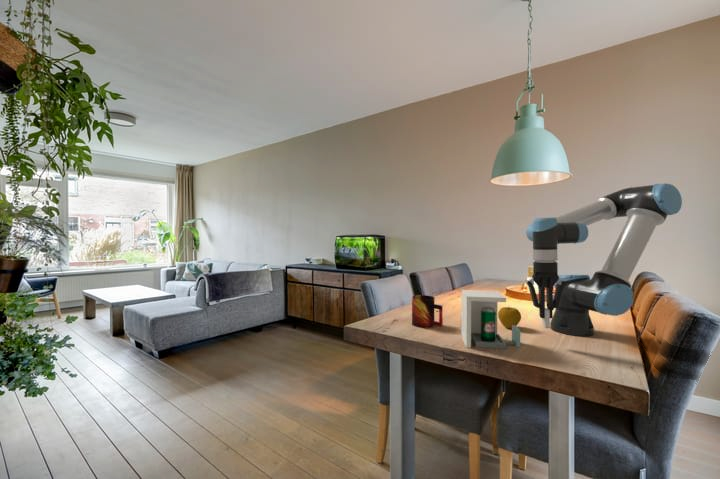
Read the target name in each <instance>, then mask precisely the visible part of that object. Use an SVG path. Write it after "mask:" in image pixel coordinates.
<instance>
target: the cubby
mask: <svg viewBox="0 0 720 479" xmlns="http://www.w3.org/2000/svg"><path fill="white" fill-rule="evenodd" d="M499 303H507V297H506V296H505V295H503V294H502V293H501V292H499V291H497V290H479V289H477V290H475V289H470V290H469V289H461V338H462V341H463V343H464V345H465V347H466V348H468V349H469V348H470V349H471V348H472V333H481V310H482V307H492V308H495V309H494V310H495V311H496V334H498V304H499Z"/></svg>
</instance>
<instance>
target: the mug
mask: <svg viewBox="0 0 720 479" xmlns="http://www.w3.org/2000/svg"><path fill="white" fill-rule="evenodd" d="M411 305H412V306H411V324H412V326H414V327H416V328H422V329H424V328H425V329H428V328H433V327H434V326H436V327H440V328H442V327H443V321H444V319H443V305H441V304H435V297H434V296H432V295H428V294H427V295H426V294H425V295H424V294H422V295H421V294H418V295H413V296H412V297H411ZM435 309H436V310H438V316H439V317H438V321H436V320H435Z"/></svg>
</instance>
